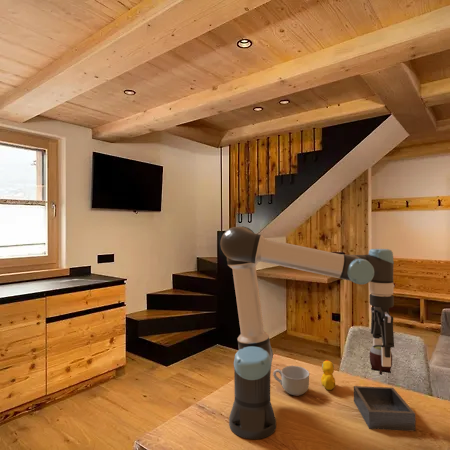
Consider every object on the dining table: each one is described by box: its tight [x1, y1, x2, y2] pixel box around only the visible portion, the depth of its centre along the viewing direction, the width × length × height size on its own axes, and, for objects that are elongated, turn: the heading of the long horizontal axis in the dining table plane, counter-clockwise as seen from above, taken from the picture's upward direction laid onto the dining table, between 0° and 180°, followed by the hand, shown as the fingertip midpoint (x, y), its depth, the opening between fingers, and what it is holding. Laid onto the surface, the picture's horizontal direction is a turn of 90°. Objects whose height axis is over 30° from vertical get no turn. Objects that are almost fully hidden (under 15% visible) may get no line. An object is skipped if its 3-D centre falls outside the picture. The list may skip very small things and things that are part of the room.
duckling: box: [320, 359, 336, 391], centre depth 134 cm, size 11×5×10 cm, turn 167°
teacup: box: [272, 365, 310, 397], centre depth 132 cm, size 14×11×8 cm
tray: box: [353, 385, 416, 432], centre depth 115 cm, size 14×17×6 cm
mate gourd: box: [369, 331, 396, 376], centre depth 114 cm, size 8×8×15 cm
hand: (381, 361), depth 115 cm, fingers closed on mate gourd, 7 cm apart
